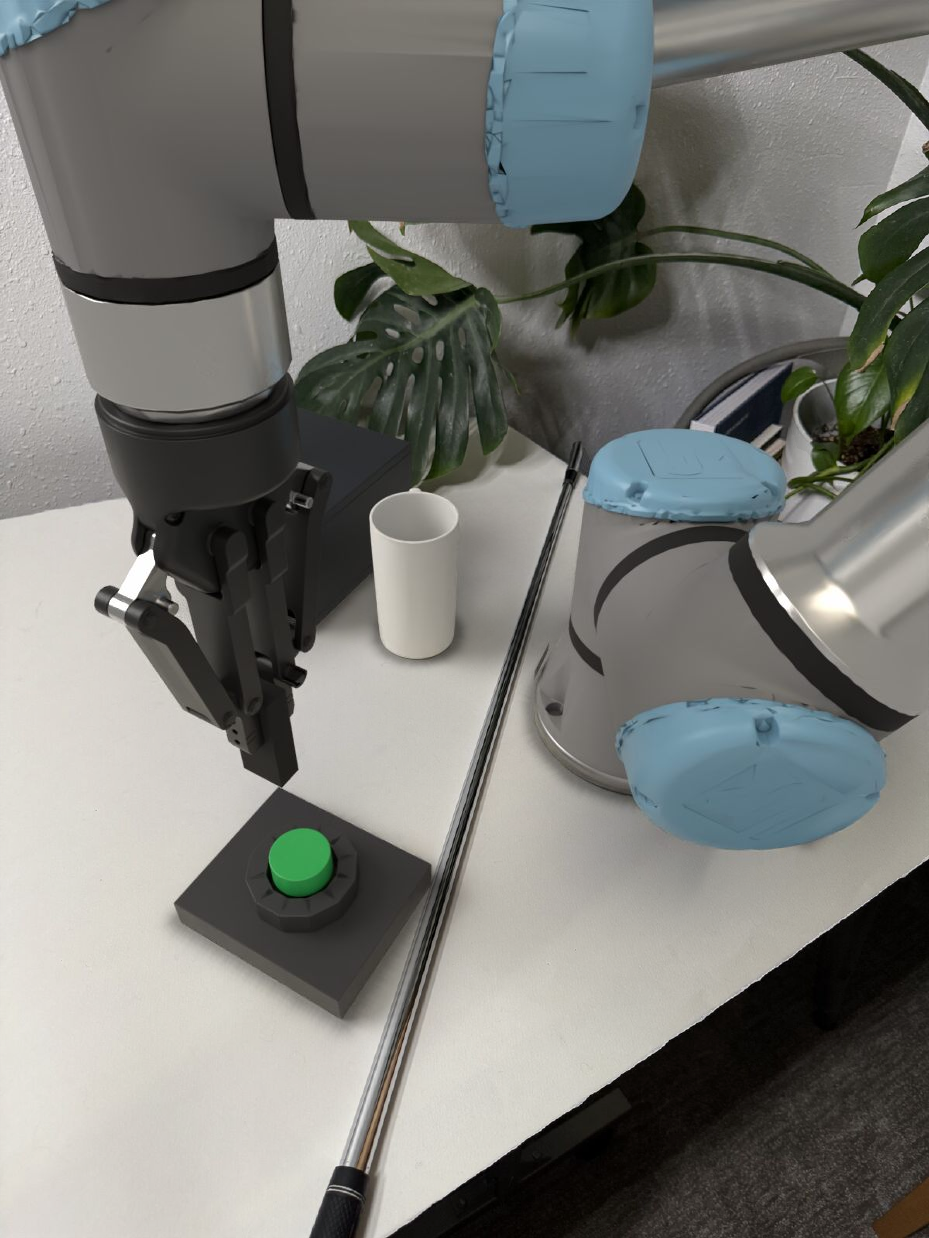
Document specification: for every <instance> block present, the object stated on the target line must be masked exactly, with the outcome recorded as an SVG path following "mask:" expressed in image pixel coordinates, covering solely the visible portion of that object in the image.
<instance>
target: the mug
mask: <svg viewBox="0 0 929 1238" xmlns="http://www.w3.org/2000/svg"><path fill="white" fill-rule="evenodd" d="M370 534H371V546H372V557H373V568H374V570H373V577H374V578H373V579H374V589H375V601H376V612H377V623H378V629H379V637H380V640H381V642H382V645H383V646H384V647H385V648H386V649H387V651H390V653H392V654H394V655H395V656H398V657H402V658H406V659H412V660H422V659H429V658H432V657H434V656H437V655H439V654H441V653H442V652H444V651H445V650H447V648H449V646H451V644H452V642H453V640H454V636H455V629H456V612H457V588H458V587H457V586H458V585H457V584H458V568H459V567H458V564H459V544H460V543H459V542H460V541H459V540H460V513H459V510H458V508H457V506H455V504H454V503H453V502H451V501H450V500H449V499H447V498H446V497H443V496H441V495H439V494H436V493H432V492H427V491H422V490H421V489H420V488H418V487H413V488H412V489H410V490H409V492H402V493H397V494H394V495H391V496H388V497H386V498H384V499H383V500H381V501H380V502H378V503H377V504H376V505H375V506H374V507H373V509H372V510H371V513H370Z"/></svg>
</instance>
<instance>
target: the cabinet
mask: <svg viewBox="0 0 929 1238" xmlns="http://www.w3.org/2000/svg"><path fill="white" fill-rule="evenodd" d="M297 414H298V422H299V431H300V439H301V456H300V460H299V462H302V463H305V464H308V465H310V466H313V467H316V468H319V469H322V470H325V471H327V472H330V473H331V474H332V477H333V482H332V487H331V491H330V495H329V498H328V502H327V505H326V509H325V513H324V516H323V526H322V542H321V558H320V574H319V590H318V606H317V622H316V626H318V624H319V623H320V622H321V621H322V620H323V619H325V617H326V616H328V615H329V614H330V613H331V612H332V611H333V610H334V609H335V608H336V607H337V606H338V605H339V604H340V603H342V602H343V600H344V599H345V598H347V596H348V595H349V594H350V593H352V592H353V590H355V589H356V588H357V587H358V586H359V585H360V584H361V583H362V582H363V581H364V580H365V579H366V578H367V577H368V576H370V574H371V573H372V572H374V568H373V557H372V546H371V534H370V513H371V510H372V509H373V507H374V506H375V505H376V504H377V503H378V502H380V501H381V500H383V499H384V498H386V497H388V496H391V495H394V494H397V493H402V492H409V490H410V489H412V488H414V487H413V451H412V442H411V441H408V440H404V439H402V438H398V437H395V436H393V435H389V434H385V433H382V432H378V431H376V430H373V429H370V428H366V427H363V426H359V425H357V424H354V423H350V422H346V421H343V420H340V419H338V418H335V417H331V416H328V415H325V414H322V413H318V412H315V411H313V410H312V411H311V410H308V409H305V408H302V407H299V406H297Z"/></svg>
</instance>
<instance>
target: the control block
mask: <svg viewBox="0 0 929 1238" xmlns="http://www.w3.org/2000/svg"><path fill="white" fill-rule="evenodd" d="M300 828H307V829H312V830H315V831H318V832H319V833H321V834H322V835H323V836H325V838H326V839H327V840H328V842H329V844H330V848H331V855H332V862H333V872H332V875H331V878H330V880H329V881H328V883H327V884H326V885H325V886H324V887H323V888H322V889H321V890H319V891H318V892H316V893H314V894H311V895H308V896H303V897H295V896H290V895H287V894H285V893H283V892H282V891H281V890H279V889H278V888H277V886H276V885H275V883H274V881H273V877H272V873H271V868H270V864H269V853H270V850H271V847H272V846H273V844H274V843H275V841H276V840H277V839H278V838H279V837H280V836H282V835H283V834H285V833H287V832H289V831H291V830H295V829H300ZM432 879H433V877H432V863H430V862H428V861H426V860H424V859H422V858H420V857H419V856H417V855H414V854H412V853H410V852H408V851H406V850H404V849H402V848H400V847H398V846H396V845H394V844H393V843H390V842H389V841H386V840H384V839H382V838H380V837H378V836H377V835H375V834H373V833H371V832H369V831H366V830H365V829H363V828H361V827H359V826H357V825H355V824H353V823H351V822H349V821H347V820H345V819H343V818H342V817H340V816H337V815H335V814H333V813H332V812H329V811H328V810H326V809H323V808H321V807H319V806H317V805H315V804H314V803H311V802H310V801H308V800H305V799H304V798H302V797H300V796H298V795H295V794H294V793H292V792H290V791H288V790H286V789H284V788H283V787H282V788H281V787H279V786H277V788H275V790H274V791H273V792H272V793H271V794H270V795H269V796H268V798H267V799H266V800H265V801H264V802H263V803H261V805H260V806H259V808H258V809H256V811H255V812H254V813H253V814H252V815H251V817H250V818H248V819H247V821H246V822H245V823H244V824H243V825H242V827H241V828H240V829H239V830H238V831H236V833H235V834H234V835H233V837H231V839H229V841H228V842H227V843H226V844H225V845H224V846H223V847H222V848H221V850H220V851H219V852H218V853H217V854H216V856H214V858H213V859H212V860H210V862H209V863H208V864H207V865H206V867H204V868H203V870H202V871H201V872H200V873H199V874H198V875H197V876H196V877H195V879H193V881H192V882H191V883H190V884H189V886H187V887H186V889H185V890H184V891H183V892H182V893H181V894H180V895H179V896H178V898H176V900H175V901H174V902H173V905H174V908H175V911H176V913H177V916H178V919H179V922H180V923H181V924H183V925H185V926H187V927H188V928H190V929H191V930H193V931H195V932H196V933H198V934H199V935H201V936H203V937H205V938H206V939H208V940H210V941H211V942H213V943H214V944H216V945H217V946H220V947H221V948H223V949H224V950H225V951H227V952H229V953H231V954H232V955H234V956H236V957H237V958H239V959H241V960H242V961H244V962H245V963H247V964H248V965H251V966H252V967H254V968H256V969H257V970H259V971H260V972H262V973H264V974H265V975H267V976H270V978H272V979H274V980H276V981H277V982H279V983H281V984H282V985H284V986H286V987H287V988H289V989H290V990H292V991H293V992H295V993H297V994H298V995H300V996H301V997H304V998H305V999H307V1000H309V1001H310V1002H312V1003H313V1004H315V1005H316V1006H318V1007H320V1008H322V1009H323V1010H325V1011H327V1012H328V1013H330V1014H332V1015H333V1016H335V1017H336V1018H338V1019H339V1020H342V1019H343V1017H344V1016H345V1014H346V1013H347V1011H348V1010H349V1009H350V1007H351V1005H352V1004H353V1003H354V1001H355V999H357V996H358V995H359V993H361V990H363V987H364V986H365V984H366V983H367V981H368V980H369V978H370V977H371V975H372V974H373V972H374V971H375V969H376V968H377V966H378V965H379V963H380V962H381V960H382V959H383V958H384V956H385V954H386V953H387V952H388V950H389V949H390V947H391V945H392V944H393V942H394V941H395V939H396V938H397V936H398V935H399V933H400V932H401V930H402V929H403V927H404V926H405V924H406V923H407V921H408V920H409V918H410V917H411V916H412V914H413V912H414V911H415V909H416V908H417V907H418V905H419V903H420V902H421V900H422V899H423V897H424V896H425V894H426V893H427V891H428V890H429V888H430V887H431V885H432V883H433V882H432Z"/></svg>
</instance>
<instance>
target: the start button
mask: <svg viewBox="0 0 929 1238" xmlns="http://www.w3.org/2000/svg"><path fill="white" fill-rule="evenodd" d="M269 864H270V868H271V873H272V877H273V881H274V883H275V885H276V886H277V888H278V889H279V890H281V891H282V892H283V893H285V894H287V895H290V896H295V897H303V896H308V895H311V894H314V893H316V892H318V891H319V890H321V889H322V888H323V887H324V886H325V885H326V884H327V883H328V881H329V880H330V878H331V875H332V872H333V862H332V855H331V848H330V844H329V842H328V840H327V839H326V838H325V836H323V835H322V834H321V833H319V832H318V831H315V830H312V829H307V828H300V829H295V830H291V831H289V832H287V833H285V834H283V835H282V836H280V837H279V838H278V839H277V840H276V841H275V843H274V844H273V846H272V847H271V850H270V853H269Z"/></svg>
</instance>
